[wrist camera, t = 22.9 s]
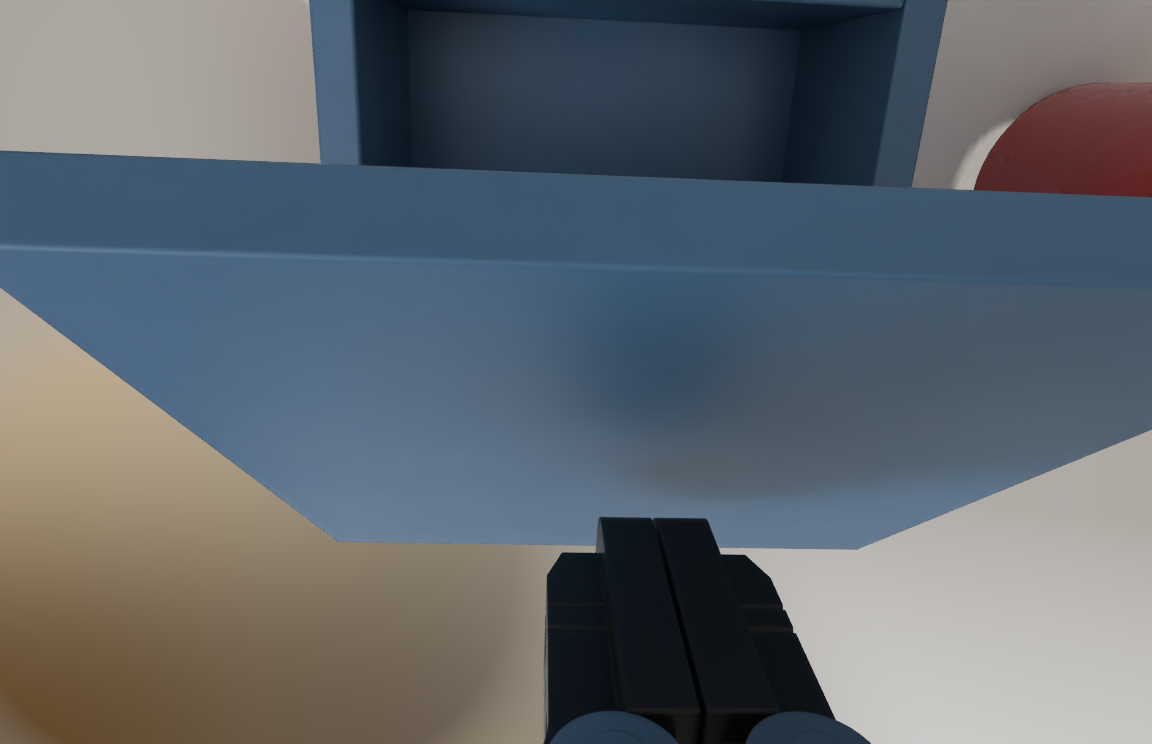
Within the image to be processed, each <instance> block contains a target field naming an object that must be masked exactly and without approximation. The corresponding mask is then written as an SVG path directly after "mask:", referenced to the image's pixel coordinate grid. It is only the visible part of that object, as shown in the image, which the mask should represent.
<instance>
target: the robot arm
mask: <svg viewBox="0 0 1152 744" xmlns="http://www.w3.org/2000/svg"><path fill="white" fill-rule="evenodd" d="M546 592H547V593H546V618H545V646H544V744H871V743H870V742H869V741H867V740H866V739H865V738H864V737H863V736H861V735H860V734H859V733H857V732H856V731H854V730H853V729H852V728H850V727H848V726H846V725H844V724H843V723H841V722H839V721H836V719H835V717H834V715H833V713H832V711H831V709H830V707H829V704H828V702H827V700H826V698H825V696H824V693H823V691H822V689H821V687H820V685H819V683H818V680H817V678H816V676H815V674H814V672H813V669H812V667H811V665H810V663H809V661H808V659H807V656H806V654H805V652H804V650H803V648H802V646H801V643H800V641H799V639H798V637H797V635H796V634H795V633H793V626H792V624H791V622H790V619H789V617H788V615H787V613H786V611H785V610H783V605H782V602H781V600H780V598H779V596H778V593H777V591H776V589H775V587H774V585H773V582H772V580H771V578H770V577H769V576H768V575H767V574H766V573H764V572H763V571H762V570H761V569H760V568H759V567H758V566H757V565H756V564H755V563H753V562H752V561H751V560H750V559H749V558H748V557H747V556H746V555H721V554H720V551H719V548H718V546H717V543H716V540H715V538H714V535H713V532H712V530H711V527H710V525H709V522H708V520H707V519H705V518H654V519H653V521H652V519H651V518H643V517H599V520H598V526H597V540H596V553H562V554H561V555H560V557H559V558H558V560H557V561H556V563H555V564H554V566H553V567H552V569H551V570H550V572H549V573H548V575H547V590H546Z"/></svg>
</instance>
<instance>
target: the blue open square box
mask: <svg viewBox="0 0 1152 744" xmlns="http://www.w3.org/2000/svg"><path fill="white" fill-rule="evenodd" d="M947 1H948V0H309V4H310V18H311V32H312V45H313V60H314V74H315V87H316V88H315V89H316V103H317V117H318V130H319V145H320V158H321V164H339V165H364V166H389V167H413V168H438V169H462V170H487V171H511V172H536V173H561V174H585V175H610V176H634V177H659V178H683V179H708V180H733V181H757V182H782V183H806V184H831V185H856V186H880V187H905V188H911V186H912V181H913V176H914V171H915V166H916V160H917V155H918V150H919V145H920V140H921V135H922V130H923V124H924V119H925V114H926V109H927V104H928V99H929V94H930V88H931V83H932V78H933V73H934V68H935V63H936V57H937V52H938V47H939V42H940V37H941V32H942V27H943V21H944V16H945V11H946V6H947Z"/></svg>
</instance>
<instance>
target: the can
mask: <svg viewBox="0 0 1152 744" xmlns="http://www.w3.org/2000/svg"><path fill="white" fill-rule="evenodd" d="M974 190H978V191H1003V192H1028V193H1052V194H1077V195H1101V196H1126V197H1150V198H1152V83H1092V84H1086V85H1080V86H1076V87H1073V88H1069V89H1066V90H1063V91H1061V92H1058V93H1056V94H1054V95H1051V96H1049V97H1047V98H1046V99H1044V100H1042V101H1041V102H1039V103H1037V104H1035V105H1034V106H1033V107H1031V108H1030V109H1029V110H1027V111H1026V112H1025V113H1023V114H1022V115H1021V116H1020V117H1019V118H1018V119H1017V120H1015V121H1014V122H1013V123H1012V124H1011V125H1010V126H1009V127H1008V128H1007V130H1006V131H1005V132H1004V133H1003V134H1002V135H1001V136H1000V138H999V139H998V141H997V142H996V143H995V145H994V146H993V148H992V149H991V150H990V152H989V154H988V156H987V158H986V159H985V161H984V163H983V165H982V168H981V170H980V172H979V175H978V177H977V180H976V184H975V187H974Z"/></svg>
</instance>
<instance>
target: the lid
mask: <svg viewBox="0 0 1152 744" xmlns="http://www.w3.org/2000/svg"><path fill="white" fill-rule="evenodd" d="M0 288H2V289H3V290H4V291H6V292H7V293H8V294H9V295H11V296H12V297H13V298H15V299H16V300H17V301H19V302H20V303H21V304H23V305H24V306H26V307H27V308H28V309H29V310H31V311H32V312H33V313H35V314H36V315H37V316H39V317H40V318H41V319H43V320H44V321H45V322H47V323H48V324H49V325H51V326H52V327H53V328H55V329H56V330H57V331H59V332H60V333H61V334H63V335H64V336H65V337H67V338H68V339H69V340H71V341H72V342H73V343H75V344H76V345H78V346H79V347H80V348H81V349H83V350H84V351H85V352H87V353H88V354H89V355H91V356H92V357H93V358H94V359H96V360H97V361H98V362H100V363H101V364H102V365H104V366H105V367H106V368H108V369H109V370H111V371H112V372H113V373H115V374H116V375H117V376H119V377H120V378H121V379H122V380H124V381H125V382H126V383H128V384H129V385H130V386H132V387H133V388H134V389H136V390H137V391H139V392H140V393H141V394H142V395H144V396H145V397H146V398H148V399H149V400H151V401H152V402H153V403H154V404H156V405H157V406H158V407H160V408H161V409H162V410H164V411H165V412H166V413H168V414H169V415H170V416H172V417H173V418H174V419H176V420H177V421H178V422H179V423H181V424H182V425H183V426H185V427H186V428H188V429H189V430H190V431H191V432H193V433H194V434H195V435H197V436H198V437H200V438H201V439H202V440H203V441H205V442H206V443H208V444H209V445H210V446H211V447H213V448H214V449H215V450H217V451H218V452H219V453H221V454H222V455H223V456H225V457H226V458H227V459H229V460H230V461H231V462H233V463H234V464H235V465H237V466H238V467H239V468H241V469H242V470H243V471H245V472H246V473H247V474H249V475H250V476H251V477H253V478H254V479H255V480H257V481H258V482H259V483H261V484H262V485H263V486H264V487H266V488H267V489H268V490H270V491H271V492H273V493H274V494H275V495H276V496H278V497H279V498H280V499H282V500H283V501H285V502H286V503H287V504H289V505H290V506H291V507H292V508H294V509H295V510H296V511H298V512H299V513H300V514H302V515H303V516H304V517H306V518H307V519H308V520H310V521H311V522H312V523H314V524H315V525H316V526H318V527H319V528H320V529H322V530H323V531H324V532H326V533H327V534H328V535H330V536H331V537H332V538H334V539H335V540H336V541H338V542H374V543H441V544H444V543H445V544H514V545H515V544H516V545H580V546H581V545H583V546H596V540H597V526H598V520H599V517H643V518H651V519H652V521H653V519H654V518H705V519H707V520H708V522H709V525H710V527H711V530H712V532H713V535H714V538H715V540H716V543H717V546H718V548H719V547H720V548H721V547H722V548H786V549H788V548H789V549H859V548H862V547H864V546H867V545H869V544H871V543H874V542H876V541H879V540H881V539H884V538H886V537H889V536H891V535H893V534H896V533H899V532H901V531H903V530H906V529H908V528H911V527H913V526H916V525H918V524H920V523H923V522H925V521H928V520H931V519H933V518H935V517H938V516H940V515H943V514H945V513H948V512H950V511H953V510H955V509H957V508H960V507H962V506H965V505H967V504H970V503H972V502H975V501H977V500H979V499H982V498H985V497H987V496H990V495H992V494H994V493H997V492H999V491H1001V490H1004V489H1007V488H1009V487H1011V486H1014V485H1016V484H1019V483H1022V482H1024V481H1026V480H1029V479H1031V478H1034V477H1036V476H1039V475H1041V474H1044V473H1046V472H1049V471H1051V470H1053V469H1056V468H1058V467H1061V466H1063V465H1066V464H1068V463H1071V462H1073V461H1076V460H1078V459H1081V458H1083V457H1085V456H1088V455H1090V454H1093V453H1095V452H1098V451H1100V450H1102V449H1105V448H1108V447H1110V446H1112V445H1115V444H1117V443H1120V442H1122V441H1125V440H1127V439H1130V438H1132V437H1135V436H1137V435H1140V434H1142V433H1144V432H1147V431H1149V430H1152V198H1150V197H1126V196H1101V195H1077V194H1052V193H1028V192H1003V191H978V190H954V189H929V188H905V187H880V186H856V185H831V184H806V183H782V182H757V181H733V180H708V179H683V178H659V177H634V176H610V175H585V174H561V173H536V172H511V171H487V170H462V169H438V168H413V167H389V166H364V165H339V164H315V163H290V162H289V163H288V162H266V161H264V162H263V161H239V160H216V159H191V158H166V157H143V156H118V155H94V154H68V153H45V152H20V151H19V152H18V151H0Z"/></svg>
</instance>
